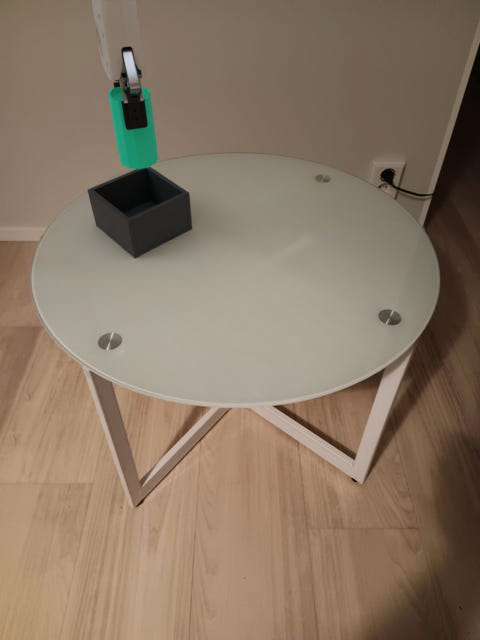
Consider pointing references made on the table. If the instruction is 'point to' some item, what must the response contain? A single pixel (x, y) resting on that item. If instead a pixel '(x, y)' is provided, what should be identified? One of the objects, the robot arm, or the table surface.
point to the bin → (141, 210)
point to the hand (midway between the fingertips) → (132, 116)
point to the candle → (134, 134)
